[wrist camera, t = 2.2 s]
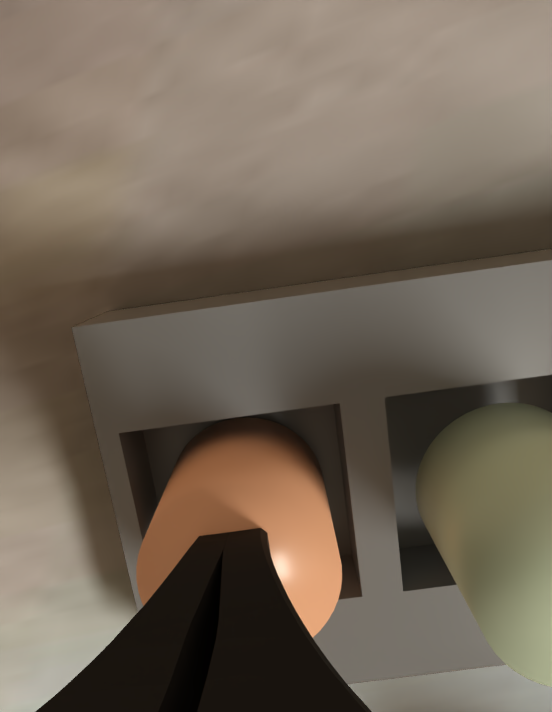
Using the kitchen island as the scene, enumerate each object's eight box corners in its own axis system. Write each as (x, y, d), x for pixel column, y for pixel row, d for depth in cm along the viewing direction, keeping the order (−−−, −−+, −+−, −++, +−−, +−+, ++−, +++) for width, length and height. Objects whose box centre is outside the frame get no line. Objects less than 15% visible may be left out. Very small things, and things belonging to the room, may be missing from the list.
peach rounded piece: (313, 407, 13) (330, 470, 9) (331, 546, 14) (352, 651, 10) (158, 428, 13) (116, 498, 10) (186, 565, 14) (157, 675, 10)
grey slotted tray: (805, 212, 13) (930, 206, 10) (774, 558, 15) (870, 619, 13) (108, 311, 13) (71, 327, 11) (177, 633, 16) (159, 707, 13)
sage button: (588, 391, 11) (730, 459, 8) (588, 549, 12) (716, 675, 9) (408, 415, 11) (469, 493, 8) (422, 571, 12) (482, 703, 9)
